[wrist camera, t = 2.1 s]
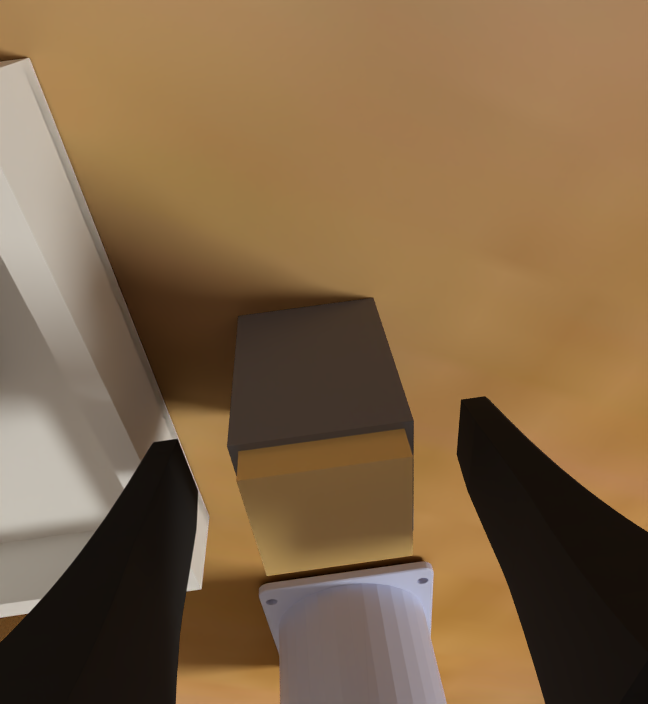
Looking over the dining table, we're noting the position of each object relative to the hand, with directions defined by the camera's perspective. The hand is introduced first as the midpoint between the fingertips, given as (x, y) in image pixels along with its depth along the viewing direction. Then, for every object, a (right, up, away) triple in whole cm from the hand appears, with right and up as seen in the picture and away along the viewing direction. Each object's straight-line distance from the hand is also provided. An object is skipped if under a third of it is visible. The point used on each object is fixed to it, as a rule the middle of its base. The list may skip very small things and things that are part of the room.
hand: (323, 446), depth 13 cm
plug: (0, +2, +3) cm, 4 cm away
